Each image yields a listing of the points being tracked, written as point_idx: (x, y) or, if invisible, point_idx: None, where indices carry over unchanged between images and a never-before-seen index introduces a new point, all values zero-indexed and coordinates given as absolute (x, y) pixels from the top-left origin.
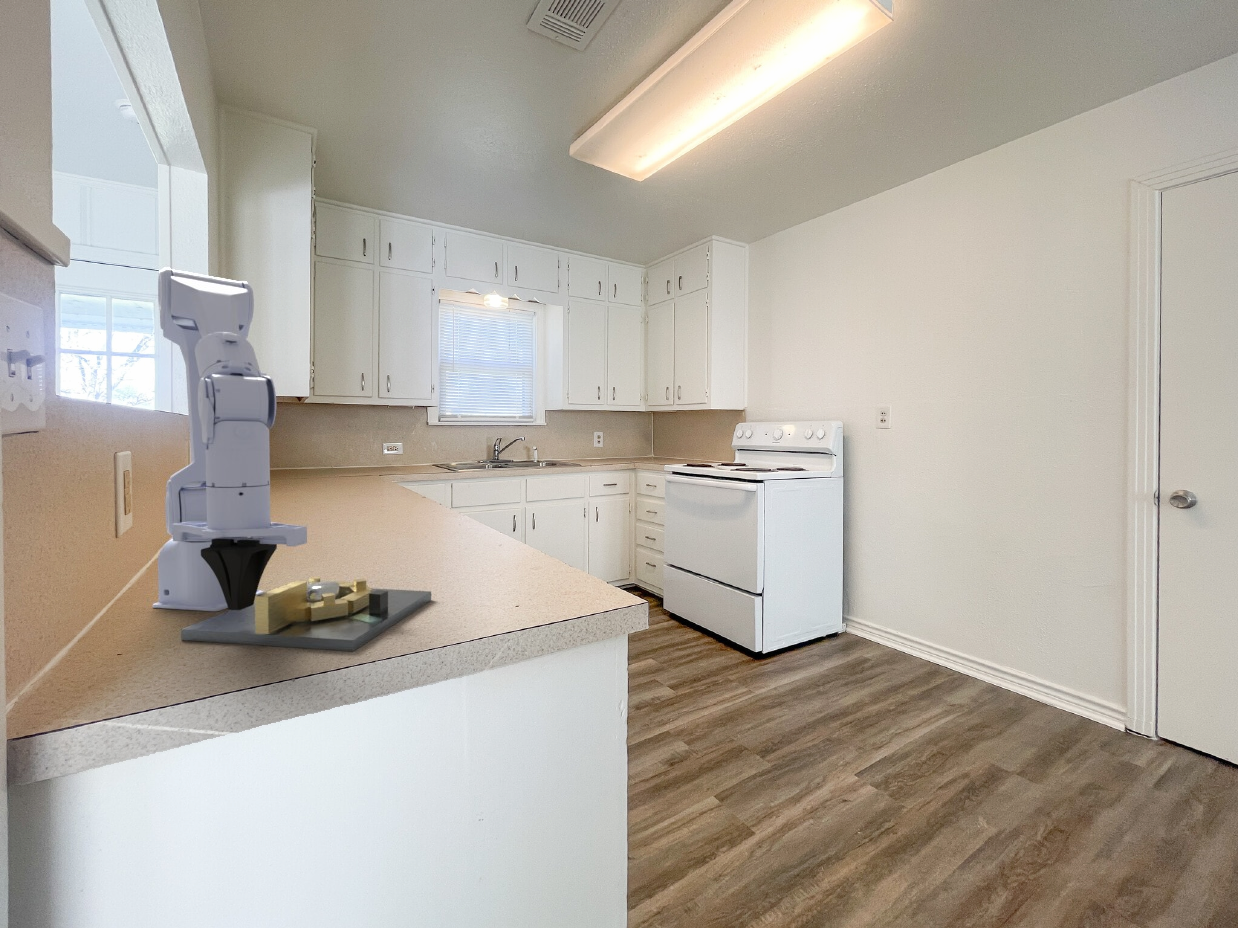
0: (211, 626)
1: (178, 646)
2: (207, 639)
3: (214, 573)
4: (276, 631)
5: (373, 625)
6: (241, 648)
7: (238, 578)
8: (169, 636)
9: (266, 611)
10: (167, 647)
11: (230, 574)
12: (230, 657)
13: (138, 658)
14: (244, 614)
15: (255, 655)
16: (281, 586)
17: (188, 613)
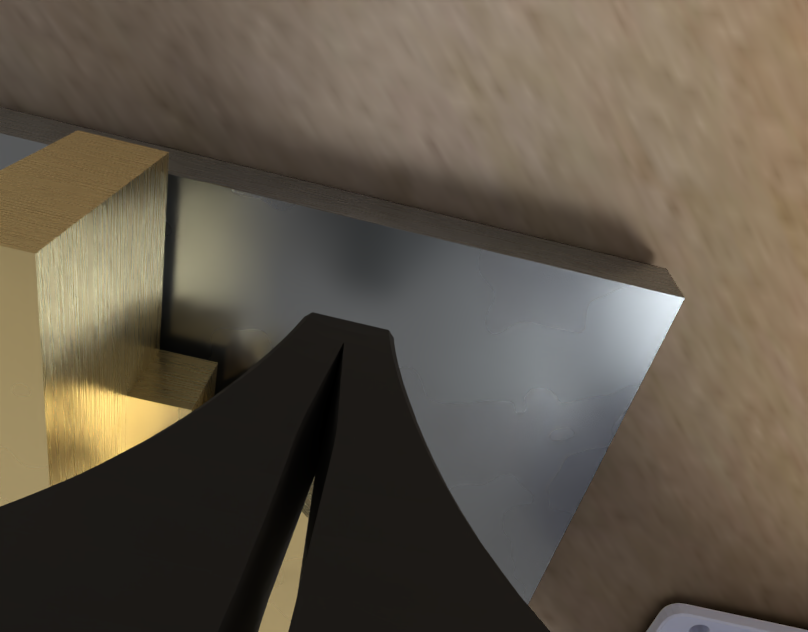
0: (531, 324)
1: (649, 203)
2: (511, 234)
3: (456, 510)
4: None
5: None
6: (288, 142)
7: (185, 427)
8: (762, 346)
9: (5, 182)
10: (702, 194)
11: (255, 464)
12: (263, 4)
13: (793, 34)
14: (454, 479)
15: (140, 25)
16: (42, 485)
17: (799, 603)
